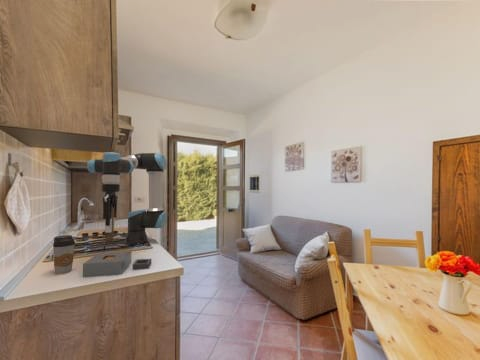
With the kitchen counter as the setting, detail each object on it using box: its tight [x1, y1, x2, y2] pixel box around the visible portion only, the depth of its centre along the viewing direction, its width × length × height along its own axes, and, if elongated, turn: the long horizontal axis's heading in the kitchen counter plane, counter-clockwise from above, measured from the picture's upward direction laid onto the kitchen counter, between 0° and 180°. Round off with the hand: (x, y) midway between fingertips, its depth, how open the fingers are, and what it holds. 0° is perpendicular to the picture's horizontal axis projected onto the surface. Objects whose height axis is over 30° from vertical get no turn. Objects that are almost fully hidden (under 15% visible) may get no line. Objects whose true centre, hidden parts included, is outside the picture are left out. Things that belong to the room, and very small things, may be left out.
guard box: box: [82, 251, 132, 278], centre depth 107 cm, size 16×16×6 cm
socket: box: [131, 258, 152, 271], centre depth 111 cm, size 7×7×2 cm
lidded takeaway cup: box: [52, 234, 73, 261], centre depth 124 cm, size 9×8×12 cm
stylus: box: [104, 207, 115, 244], centre depth 108 cm, size 3×3×17 cm
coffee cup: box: [52, 237, 76, 275], centre depth 104 cm, size 8×8×15 cm
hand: (109, 231), depth 108 cm, fingers closed on stylus, 3 cm apart
